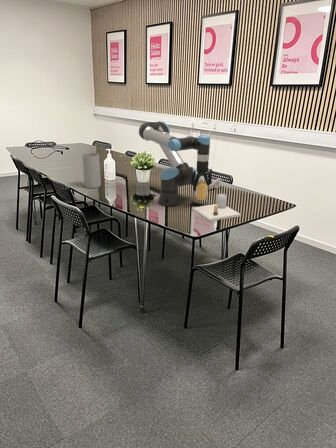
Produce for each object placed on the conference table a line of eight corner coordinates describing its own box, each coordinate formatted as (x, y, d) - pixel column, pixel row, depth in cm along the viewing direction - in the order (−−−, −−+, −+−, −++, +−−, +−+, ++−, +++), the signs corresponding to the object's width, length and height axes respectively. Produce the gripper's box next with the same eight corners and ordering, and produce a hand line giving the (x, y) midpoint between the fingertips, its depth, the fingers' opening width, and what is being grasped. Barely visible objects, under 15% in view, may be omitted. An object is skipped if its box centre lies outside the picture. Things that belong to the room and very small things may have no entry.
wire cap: (193, 196, 225) (194, 182, 222) (202, 195, 228) (203, 181, 224) (198, 200, 220) (199, 185, 216) (207, 198, 222) (208, 184, 218)
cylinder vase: (102, 184, 271) (100, 153, 261) (98, 188, 259) (96, 156, 250) (87, 183, 272) (85, 152, 262) (82, 188, 260) (79, 155, 251)
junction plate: (192, 209, 218) (192, 195, 214) (221, 205, 226) (222, 191, 223) (209, 221, 199) (210, 206, 196) (240, 216, 208) (241, 201, 204)
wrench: (194, 197, 251) (220, 186, 268) (195, 198, 250) (222, 187, 266) (193, 187, 247) (220, 176, 264) (195, 188, 246) (222, 177, 263)
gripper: (191, 162, 207) (190, 198, 216) (219, 160, 215) (216, 194, 224) (186, 160, 213) (184, 195, 222) (213, 158, 221) (210, 191, 230)
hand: (200, 194), depth 223 cm, fingers closed on wire cap, 7 cm apart
